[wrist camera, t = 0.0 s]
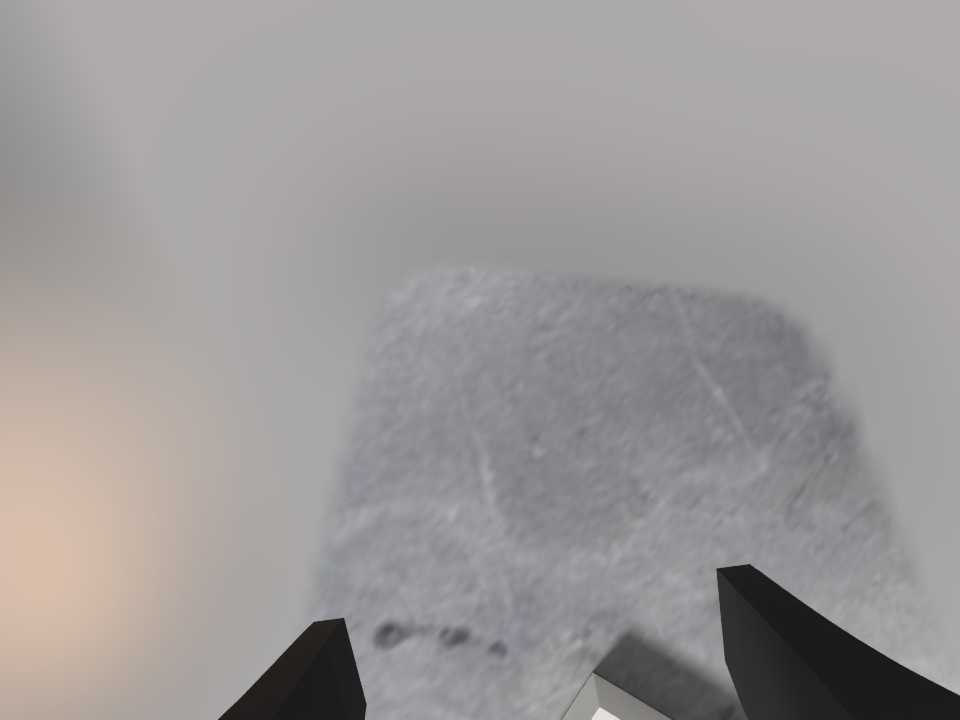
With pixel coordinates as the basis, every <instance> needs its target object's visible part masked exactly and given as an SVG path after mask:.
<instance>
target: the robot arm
mask: <svg viewBox="0 0 960 720" xmlns="http://www.w3.org/2000/svg"><path fill="white" fill-rule="evenodd" d="M716 570H717V580H718V591H719V601H720V612H721V622H722V633H723V643H724V654H725V662H726V665H727V667H728V670H729V673H730V675H731V678H732V681H733V683H734V686H735V688H736V691H737V694H738V696H739V699H740V701H741V704H742V706H743V709H744V711H745V714H746V716H747V718H748V720H960V695H958V694H956V693H954V692H952V691H950V690H948V689H946V688H944V687H942V686H940V685H938V684H936V683H934V682H932V681H930V680H928V679H926V678H924V677H923V676H921V675H919V674H917V673H915V672H913V671H911V670H909V669H908V668H906V667H904V666H902V665H900V664H899V663H897V662H895V661H893V660H892V659H890V658H888V657H887V656H885V655H883V654H882V653H880V652H878V651H877V650H875V649H873V648H872V647H870V646H868V645H867V644H865V643H863V642H862V641H860V640H858V639H857V638H855V637H854V636H852V635H851V634H849V633H847V632H846V631H844V630H843V629H841V628H840V627H838V626H837V625H835V624H834V623H832V622H831V621H829V620H828V619H826V618H825V617H823V616H822V615H820V614H819V613H817V612H816V611H814V610H813V609H811V608H810V607H809V606H807V605H806V604H804V603H803V602H801V601H800V600H799V599H797V598H796V597H794V596H793V595H792V594H790V593H789V592H787V591H786V590H785V589H783V588H782V587H781V586H779V585H778V584H776V583H775V582H774V581H772V580H771V579H770V578H768V577H767V576H765V575H764V574H763V573H761V572H760V571H759V570H757V569H756V568H754V567H753V566H751V565H750V564H747V565H740V566H732V567H725V568H717V569H716ZM366 705H367V704H366V701H365V697H364V693H363V689H362V685H361V681H360V678H359V674H358V670H357V666H356V662H355V658H354V655H353V651H352V647H351V643H350V639H349V635H348V632H347V628H346V624H345V620H344V618H340V619H332V620H325V621H317V622H313V623H312V624H311V625H310V626H309V627H308V628H307V629H306V630H305V631H304V632H303V633H302V634H301V635H300V636H299V637H298V638H297V639H296V640H295V641H294V642H293V644H292V645H291V646H290V647H289V648H288V649H287V650H286V651H285V652H284V653H283V654H282V655H281V656H280V657H279V658H278V659H277V660H276V662H275V663H274V664H273V665H272V666H271V667H270V668H269V669H268V670H267V671H266V672H265V673H264V674H263V675H262V676H261V677H260V678H259V679H258V680H257V681H256V682H255V684H254V685H253V686H252V687H251V688H250V689H249V690H248V691H247V692H246V693H245V694H244V695H243V696H242V697H241V698H240V699H239V700H238V701H237V702H236V703H235V704H234V705H233V706H232V707H230V709H228V710H227V711H226V712H225V713H224V714H223V715H222V716H221V717H220V718H219V719H218V720H365V713H366Z"/></svg>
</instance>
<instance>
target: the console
mask: <svg viewBox="0 0 960 720" xmlns="http://www.w3.org/2000/svg"><path fill="white" fill-rule="evenodd" d="M562 720H671V719H670V718H668V717H666V716H665V715H663V714H661V713H660V712H658V711H656V710H655V709H653V708H651V707H650V706H648V705H646V704H645V703H643V702H641V701H640V700H638V699H636V698H635V697H633V696H631V695H630V694H628V693H626V692H625V691H623V690H621V689H620V688H618V687H616V686H615V685H613V684H611V683H610V682H608V681H606V680H605V679H603V678H601V677H600V676H598V675H596V674H595V673H592V674H591V676H590V677H589V679H588V680H587V682H586V683H585V685H584V686H583V688H582V689H581V691H580V692H579V694H578V695H577V697H576V698H575V700H574V702H573V703H572V705H571V706H570V708H569V709H568V711H567V712H566V714H565V715H564V717H563V718H562Z"/></svg>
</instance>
